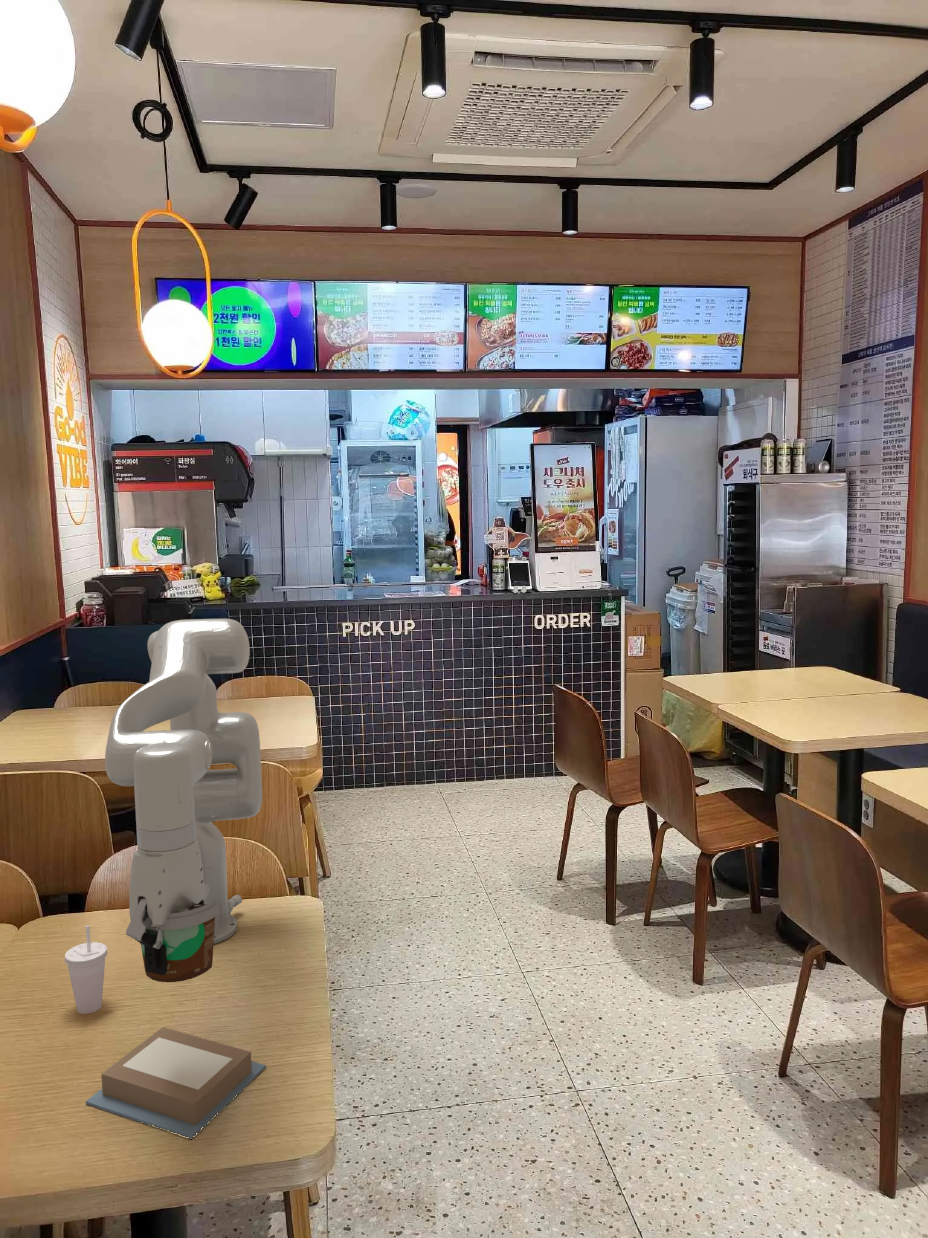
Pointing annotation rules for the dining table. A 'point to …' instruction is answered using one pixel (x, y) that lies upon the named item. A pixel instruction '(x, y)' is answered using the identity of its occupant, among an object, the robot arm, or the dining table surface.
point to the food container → (186, 942)
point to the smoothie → (87, 974)
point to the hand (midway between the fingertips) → (172, 960)
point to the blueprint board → (175, 1081)
